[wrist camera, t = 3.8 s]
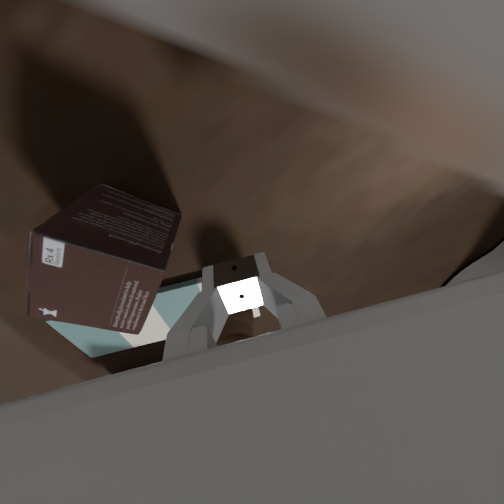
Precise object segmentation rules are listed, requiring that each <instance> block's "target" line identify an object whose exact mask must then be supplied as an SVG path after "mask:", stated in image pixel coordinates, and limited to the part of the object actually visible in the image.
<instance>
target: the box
mask: <svg viewBox="0 0 504 504" xmlns="http://www.w3.org/2000/svg"><path fill="white" fill-rule="evenodd" d="M180 220H181V215H180V214H179V213H176V212H174V211H171V210H169V209H166V208H163V207H160V206H157V205H155V204H152V203H149V202H147V201H144V200H142V199H139V198H137V197H134V196H132V195H129V194H127V193H124V192H122V191H119V190H117V189H115V188H112V187H109V186H107V185H103V184H98V185H96V186H95V187H94V188H92V189H91V190H90V191H88V192H87V193H85V194H84V195H82V196H81V197H79V198H78V199H77V200H75V201H74V202H72V203H71V204H70V205H68V206H67V207H65V208H64V209H62V210H61V211H60V212H58V213H57V214H55V215H53V216H52V217H51V218H49V219H48V220H47V221H46V222H45V223H43V224H41V225H39V226H38V227H36V228H34V229H33V230H31V231H30V246H29V255H30V256H29V271H28V273H27V278H26V283H27V288H28V311H27V312H28V316H29V317H33V318H39V319H45V320H51V321H58V322H65V323H70V324H77V325H82V326H88V327H94V328H100V329H106V330H111V331H117V332H123V333H129V334H135V335H138V334H139V333H140V332H141V330H142V328H143V326H144V323H145V321H146V319H147V317H148V314H149V312H150V309H151V307H152V304H153V302H154V300H155V297H156V295H157V292H158V290H159V287H160V285H161V283H162V280H163V277H164V274H165V270H166V266H167V262H168V259H169V256H170V253H171V250H172V247H173V243H174V240H175V237H176V234H177V231H178V227H179V223H180Z"/></svg>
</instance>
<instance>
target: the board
mask: <svg viewBox="0 0 504 504" xmlns="http://www.w3.org/2000/svg"><path fill="white" fill-rule="evenodd" d="M199 292H202V277H200V278H196V279H192V280H188V281H184V282H180V283H176V284H172V285H168V286H164V287H160V288H159V290H158V292H157V295H156V297H155V300H154V302H153V304H152V307H151V309H150V312H149V314H148V317H147V319H146V321H145V323H144V326H143V328H142V330H141V332H140V333H139V334H138V335H135V334H129V333H123V332H117V331H111V330H106V329H100V328H94V327H88V326H82V325H77V324H70V323H65V322H58V321H51V320H46V322H47V323H48V324H49V325H50V326H52V327H53V328H54V329H55V330H57V331H58V332H59V333H60V334H62V335H63V336H64V337H66V338H67V339H68V340H69V341H71V342H72V343H73V344H74V345H76V346H77V347H78V348H80V349H81V350H82V351H83V352H85V353H86V354H87V355H88V356H90V357H91V358H93V357H97V356H101V355H105V354H109V353H113V352H117V351H121V350H125V349H129V348H133V347H137V346H141V345H146V344H150V343H154V342H158V341H162V340H166V337H167V333H168V332H169V331H170V329H171V328H172V327H173V325H174V324H175V323H176V321H177V320H178V319H179V318H180V316H181V315H182V314H183V312H184V311H185V310H186V308H187V307H188V306H189V304H190V303H191V302H192V301H193V299H194V298H195V297H196V295H197V294H198V293H199ZM252 310H253V316H254V317H258V316H260V311H259V308H258V307H253V308H252Z"/></svg>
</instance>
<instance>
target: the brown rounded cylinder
mask: <svg viewBox="0 0 504 504" xmlns="http://www.w3.org/2000/svg"><path fill="white" fill-rule="evenodd" d="M255 336H257V333H256V327H255V322H254V316H253V310H252V308H249V309H245V310H242V311H238V312H235V313H231V314H229V316H228V318H227V321H226V323H225V325H224V327H223V329H222V331H221V334H220V336H219V338H218V340H217V342H216V344H217V346H221V345H225V344H229V343H232V342H236V341H240V340H244V339H247V338H251V337H255Z"/></svg>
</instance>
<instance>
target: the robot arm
mask: <svg viewBox="0 0 504 504" xmlns="http://www.w3.org/2000/svg"><path fill="white" fill-rule="evenodd" d="M262 305H264V306H265V307H266V308H267V309H268V310H269V311H270V312H271V313H272V314H274V315H275V316H276V317H277V318H278V321H279V326H280V330H278V331H274V332H270V333H266V334H262V335H259V336H255V337H251V338H247V339H244V340H240V341H236V342H232V343H229V344H225V345H221V346H217V344H216V342H217V340H218V338H219V336H220V334H221V331H222V329H223V327H224V325H225V323H226V321H227V318H228V316H229V314H231V313H235V312H238V311H242V310H245V309H249V308H253V307H258V306H262ZM0 504H504V241H503V242H502V243H501V244H500V245H499V246H497V247H496V248H495V249H494V250H493V251H491V252H490V253H488V254H487V255H485V256H484V257H482V258H480V259H479V260H477V261H476V262H474V263H472V264H471V265H469V266H468V267H467V268H465V269H464V270H463V271H461V272H460V273H459V274H457V275H456V276H455V277H454V278H453V279H452V280H451V281H450V282H449V283H448V284H447V285H446V286H443V287H440V288H436V289H432V290H428V291H425V292H421V293H417V294H413V295H409V296H406V297H402V298H398V299H394V300H391V301H387V302H383V303H379V304H376V305H372V306H368V307H364V308H360V309H357V310H353V311H349V312H345V313H342V314H338V315H334V316H330V317H326V316H325V314H324V312H323V310H322V308H321V306H320V304H319V302H318V300H317V298H316V297H315V295H313V294H312V293H310V292H308V291H306V290H305V289H303V288H301V287H299V286H298V285H296V284H294V283H292V282H291V281H289V280H287V279H285V278H284V277H282V276H280V275H278V274H277V273H272V272H271V269H270V267H269V264H268V261H267V258H266V255H265V253H264V252H260V253H256V254H254V255H251V256H247V257H243V258H239V259H236V260H231V261H227V262H223V263H218V264H214V265H210V266H206V267H203V269H202V292H199V293H198V294H197V295H196V297H195V298H194V299H193V301H192V302H191V303H190V304H189V306H188V307H187V308H186V310H185V311H184V312H183V314H182V315H181V316H180V318H179V319H178V320H177V321H176V323H175V324H174V325H173V327H172V328H171V329H170V331H169V332H168V333H167V337H166V342H165V348H164V354H163V359H162V361H161V362H157V363H153V364H150V365H146V366H142V367H138V368H134V369H131V370H127V371H123V372H119V373H116V374H112V375H108V376H104V377H101V378H97V379H93V380H89V381H86V382H82V383H78V384H74V385H71V386H67V387H63V388H59V389H55V390H52V391H48V392H44V393H40V394H37V395H33V396H29V397H25V398H21V399H18V400H14V401H11V402H7V403H3V404H0Z"/></svg>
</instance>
